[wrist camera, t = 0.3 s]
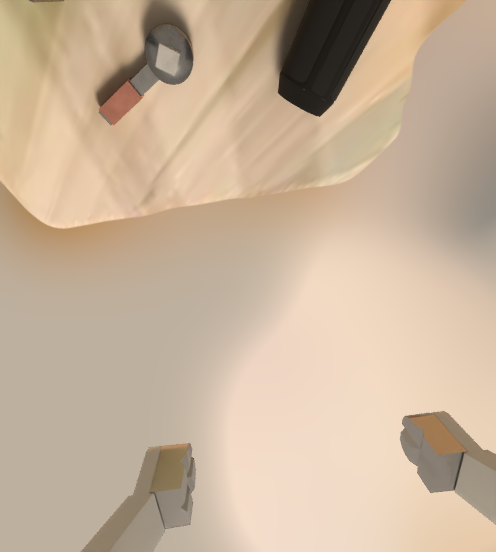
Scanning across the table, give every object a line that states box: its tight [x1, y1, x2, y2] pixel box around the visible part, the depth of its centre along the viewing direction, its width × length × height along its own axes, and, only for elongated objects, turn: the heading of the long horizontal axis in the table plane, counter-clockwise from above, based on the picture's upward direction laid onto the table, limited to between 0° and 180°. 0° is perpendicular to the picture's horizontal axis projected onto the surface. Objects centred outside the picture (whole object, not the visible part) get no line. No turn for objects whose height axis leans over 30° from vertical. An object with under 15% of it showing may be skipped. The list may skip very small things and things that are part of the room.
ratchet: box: [99, 24, 193, 125], centre depth 42 cm, size 7×18×6 cm, turn 123°
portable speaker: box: [278, 0, 391, 117], centre depth 37 cm, size 26×10×10 cm, turn 156°
